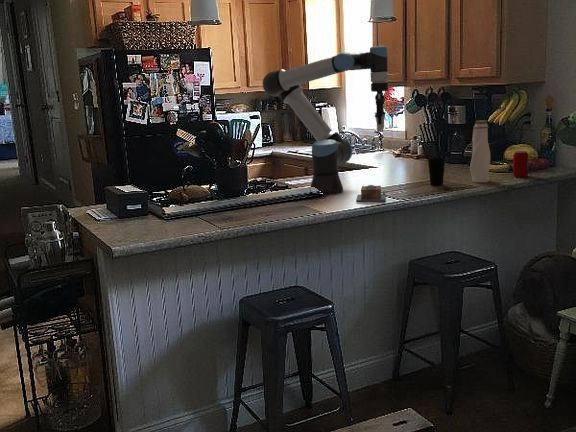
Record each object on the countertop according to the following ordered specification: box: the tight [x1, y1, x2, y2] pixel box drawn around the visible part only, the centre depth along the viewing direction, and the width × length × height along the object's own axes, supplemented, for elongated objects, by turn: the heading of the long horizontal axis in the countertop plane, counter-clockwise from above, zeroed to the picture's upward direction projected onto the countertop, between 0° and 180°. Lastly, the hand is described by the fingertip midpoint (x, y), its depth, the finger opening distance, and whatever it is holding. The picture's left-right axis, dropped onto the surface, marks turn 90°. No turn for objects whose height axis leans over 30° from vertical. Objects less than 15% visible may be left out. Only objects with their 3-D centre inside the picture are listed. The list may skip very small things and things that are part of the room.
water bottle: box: [469, 119, 491, 183], centre depth 296 cm, size 10×9×28 cm
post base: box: [355, 184, 387, 203], centre depth 269 cm, size 12×12×6 cm
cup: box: [427, 157, 446, 187], centre depth 294 cm, size 8×8×12 cm
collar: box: [360, 185, 382, 199], centre depth 269 cm, size 8×8×4 cm
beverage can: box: [512, 150, 529, 178], centre depth 303 cm, size 7×7×12 cm
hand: (380, 130), depth 287 cm, fingers open, 13 cm apart
